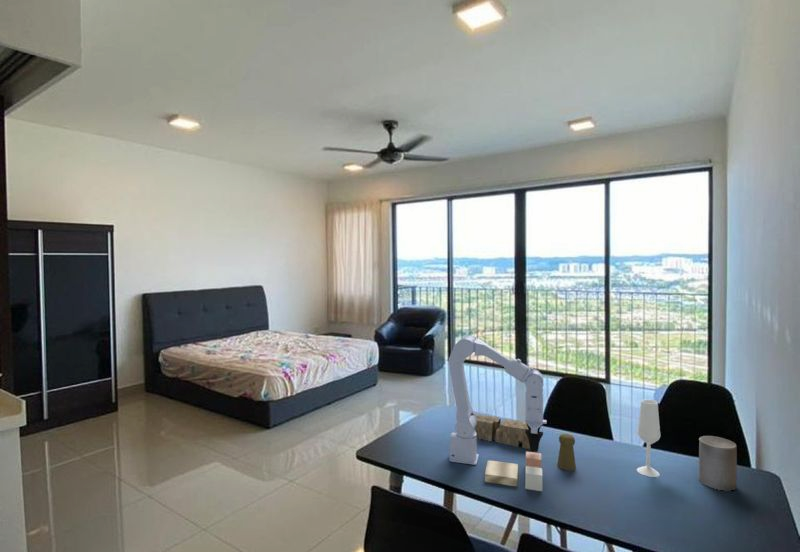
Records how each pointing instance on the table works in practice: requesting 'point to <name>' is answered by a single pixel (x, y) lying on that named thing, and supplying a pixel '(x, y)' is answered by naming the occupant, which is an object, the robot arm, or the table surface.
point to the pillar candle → (718, 463)
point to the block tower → (502, 430)
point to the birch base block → (501, 473)
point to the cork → (566, 452)
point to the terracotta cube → (533, 459)
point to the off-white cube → (533, 478)
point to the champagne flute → (648, 432)
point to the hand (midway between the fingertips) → (533, 446)
